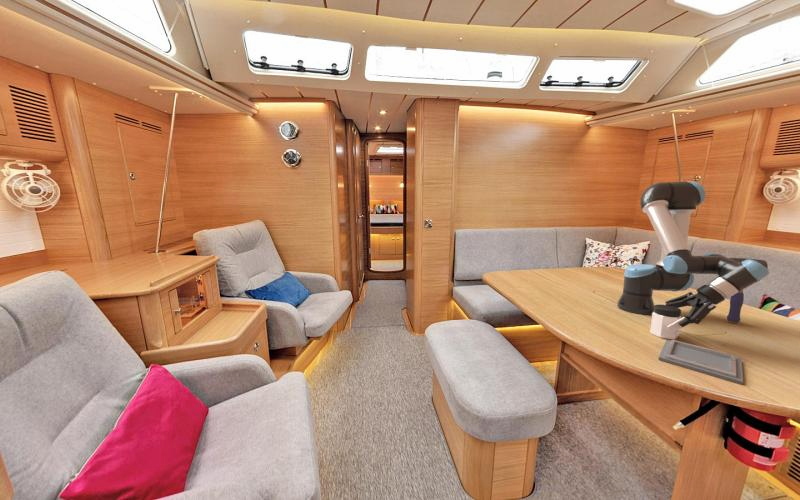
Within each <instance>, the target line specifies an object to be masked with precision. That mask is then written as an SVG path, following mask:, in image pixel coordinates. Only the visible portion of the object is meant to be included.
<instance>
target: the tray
mask: <svg viewBox="0 0 800 500" xmlns="http://www.w3.org/2000/svg"><path fill="white" fill-rule="evenodd" d="M670 341H671V342H670V345H669V347H668V349H667V352H666V355H665V357H666V358H670V359H673V360H677V361H680V362H684V363H687V364H690V365H694V366H697V367H701V368H704V369H708V370H711V371H715V372H718V373H722V374H725V375H729V376H732V377H736V360H735V357H736V355H735V354H732V353H728V352H723V351H720V350H716V349H711V348H707V347H704V346H700V345H695V344H692V343H689V342H688V343H687V342H683V341H679V340H676V339H675V340H673V339H670ZM674 344H676V345H680V346H684V347H688V348H692V349H696V350H700V351H704V352H707V353H711V354H715V355H719V356H723V357H727V358H730V371H728V370H725V369H721V368H718V367H714V366H710V365H707V364H703V363H700V362H696V361H693V360H689V359H685V358H682V357H678V356H675V355H671V352H672V349H673V346H674Z"/></svg>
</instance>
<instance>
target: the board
mask: <svg viewBox="0 0 800 500" xmlns="http://www.w3.org/2000/svg"><path fill="white" fill-rule="evenodd" d="M670 342H671V339H666V340H665V341H664V345H663V346H662V349H661V352H660V353H659V355H658V360H659V361H662V362H666V363H669V364H670V365H671V364H672V365H675V366H679V367H682V368H686V369H688V370H692V371H695V372H699V373H701V374H702V373H703V374H706V375H708V376H712V377H715V378H719V379H722V380H725V381H730V382H732V383H735V384H738V385H743V384H744V377H743V375H744V374H743V363H742V358H740V357H737V356H735V360H736V377H732V376H729V375H725V374H722V373H718V372H715V371H711V370H708V369H704V368H701V367H697V366H694V365H690V364H687V363H684V362H680V361H677V360H673V359H670V358H666V357H665V355H666V352H667V349H668V347H669V345H670ZM671 355H675V356H678V357H682V358H685V359H689V360H693V361H696V362H700V363H703V364H707V365H710V366H714V367H718V368H721V369H725V370H728V371H730V358H727V357H723V356H719V355H715V354H711V353H707V352H704V351H700V350H696V349H692V348H688V347H684V346H680V345H676V344H674V346H673V349H672V352H671Z"/></svg>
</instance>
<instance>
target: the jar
mask: <svg viewBox="0 0 800 500" xmlns="http://www.w3.org/2000/svg"><path fill="white" fill-rule="evenodd" d="M654 305H655V306H654V312H653V314H651V321H650V330H649V333H650V334H652V335H654V336H656V337H658V338H662V339H666V340H676V339H677V338H678V337H679V333H680V329H679V330H677V331H675V332H673V331H672V330H671V329H669V328H668V327H667V326H669V325H670V324H672V323H674V322H676V321H677V320H679V319H681V318H682V310H681V309H680V308H676V307H673V306H669V305H666V304H654Z"/></svg>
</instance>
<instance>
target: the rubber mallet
mask: <svg viewBox="0 0 800 500" xmlns="http://www.w3.org/2000/svg"><path fill="white" fill-rule="evenodd" d="M728 258H729V259H732V260H734V261H736V262H740V263H741V262H742V261H745V260H748V259H749V260H754V261H756V262H758V263H760V264H762V265H763V266H764V267H766V268H767V269H768V270H769V268H768V262H767V261H766V260H765V259H757V258H745V257H741V258H740V257H728ZM744 298H745V296H744V289H743V290H741V291H740V292H737V293H736V294H734V295H733V296H731V297H730V299H729V311H728V313H727V314H728V315H727V316H726V320H727V321H728V322H729V323H732V324H739V323H740V322H741V312H742V307H743V305H744Z"/></svg>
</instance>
